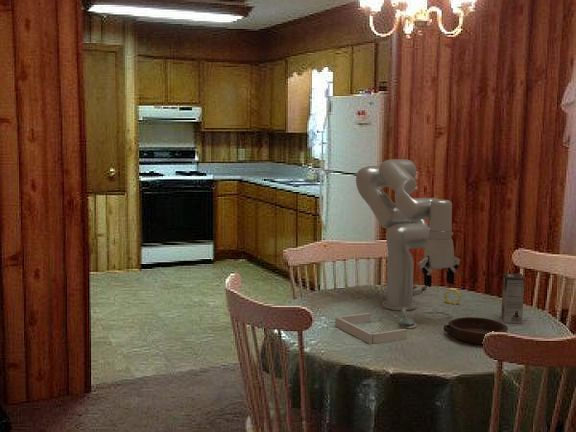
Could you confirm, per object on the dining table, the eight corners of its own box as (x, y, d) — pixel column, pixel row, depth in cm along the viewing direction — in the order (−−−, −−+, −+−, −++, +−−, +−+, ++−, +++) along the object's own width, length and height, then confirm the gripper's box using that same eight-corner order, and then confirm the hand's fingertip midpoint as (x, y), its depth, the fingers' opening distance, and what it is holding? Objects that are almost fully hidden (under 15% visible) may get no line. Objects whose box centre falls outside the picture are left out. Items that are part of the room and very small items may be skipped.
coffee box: (500, 316, 237) (502, 272, 235) (519, 317, 235) (521, 273, 233) (503, 322, 228) (505, 277, 226) (522, 324, 226) (525, 278, 224)
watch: (460, 304, 254) (462, 289, 253) (458, 306, 251) (460, 291, 250) (445, 301, 257) (446, 286, 256) (443, 303, 254) (444, 288, 253)
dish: (451, 327, 222) (451, 313, 222) (518, 337, 211) (519, 322, 211) (435, 340, 207) (436, 325, 207) (507, 352, 196) (508, 336, 196)
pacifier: (418, 325, 225) (400, 322, 227) (419, 307, 224) (402, 305, 226) (414, 330, 218) (396, 328, 220) (415, 312, 217) (397, 310, 219)
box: (335, 325, 222) (335, 317, 222) (368, 321, 228) (368, 312, 228) (370, 344, 202) (370, 334, 202) (406, 338, 208) (406, 329, 208)
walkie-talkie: (410, 299, 261) (428, 290, 278) (411, 288, 260) (428, 279, 277) (390, 296, 265) (409, 287, 282) (390, 286, 265) (409, 277, 282)
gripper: (452, 233, 232) (451, 280, 233) (412, 235, 224) (412, 285, 226) (467, 235, 225) (465, 284, 226) (426, 238, 217) (425, 289, 219)
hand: (439, 284), depth 226 cm, fingers open, 9 cm apart
